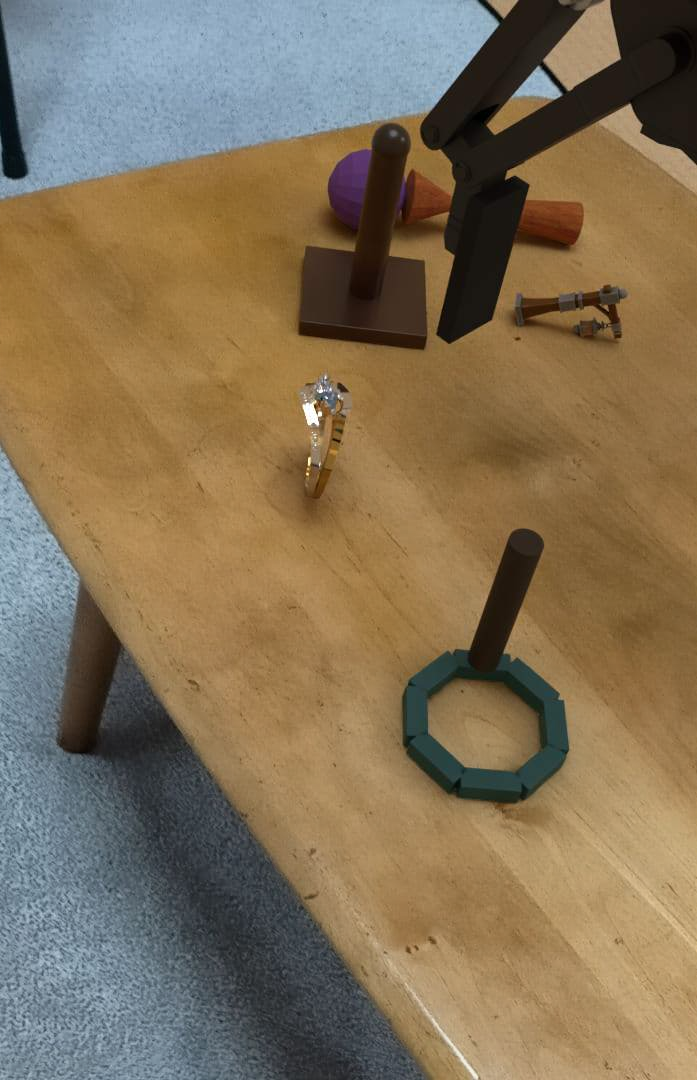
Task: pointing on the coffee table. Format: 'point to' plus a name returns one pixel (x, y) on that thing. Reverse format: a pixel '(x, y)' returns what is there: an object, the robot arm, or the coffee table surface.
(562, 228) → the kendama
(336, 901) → the coffee table surface
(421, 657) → the coffee table surface
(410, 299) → the stand
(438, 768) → the ring
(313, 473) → the ring
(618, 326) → the wooden post with brackets
